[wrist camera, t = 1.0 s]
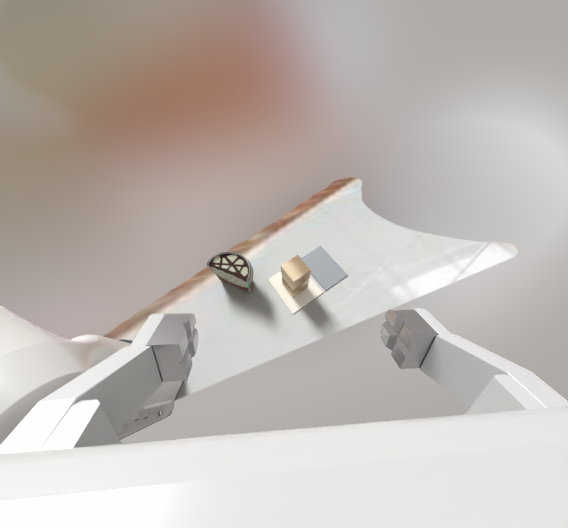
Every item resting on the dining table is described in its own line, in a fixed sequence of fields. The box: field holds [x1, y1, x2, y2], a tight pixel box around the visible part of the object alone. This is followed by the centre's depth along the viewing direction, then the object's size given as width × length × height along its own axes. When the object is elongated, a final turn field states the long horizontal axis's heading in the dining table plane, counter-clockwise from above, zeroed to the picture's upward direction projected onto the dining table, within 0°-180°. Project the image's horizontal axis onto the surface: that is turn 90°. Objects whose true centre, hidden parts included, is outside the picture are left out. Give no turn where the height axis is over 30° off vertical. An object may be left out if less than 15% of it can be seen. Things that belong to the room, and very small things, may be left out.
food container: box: [207, 252, 253, 293], centre depth 58 cm, size 12×6×10 cm, turn 66°
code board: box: [268, 246, 347, 314], centre depth 62 cm, size 19×12×1 cm, turn 125°
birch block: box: [281, 255, 311, 298], centre depth 56 cm, size 5×5×11 cm
